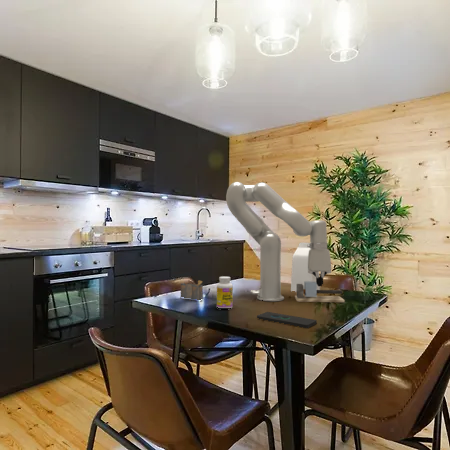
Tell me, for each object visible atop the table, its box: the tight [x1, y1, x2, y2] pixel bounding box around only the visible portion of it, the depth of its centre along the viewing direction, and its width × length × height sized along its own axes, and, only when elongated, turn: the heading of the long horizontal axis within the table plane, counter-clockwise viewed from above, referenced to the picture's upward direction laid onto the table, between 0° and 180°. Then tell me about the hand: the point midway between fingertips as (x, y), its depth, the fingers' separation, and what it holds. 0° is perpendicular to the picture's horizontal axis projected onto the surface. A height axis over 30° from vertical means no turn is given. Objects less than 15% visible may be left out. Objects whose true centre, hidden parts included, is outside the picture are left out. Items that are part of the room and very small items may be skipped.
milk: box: [290, 242, 321, 293], centre depth 182 cm, size 12×12×26 cm
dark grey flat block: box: [256, 311, 318, 329], centre depth 120 cm, size 8×2×20 cm
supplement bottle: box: [216, 276, 234, 309], centre depth 140 cm, size 7×7×13 cm
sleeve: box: [303, 281, 318, 297], centre depth 158 cm, size 5×4×6 cm
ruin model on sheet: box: [180, 280, 204, 300], centre depth 157 cm, size 11×3×10 cm, turn 54°
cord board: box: [294, 284, 346, 303], centre depth 157 cm, size 21×9×7 cm, turn 85°
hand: (319, 285), depth 157 cm, fingers closed
